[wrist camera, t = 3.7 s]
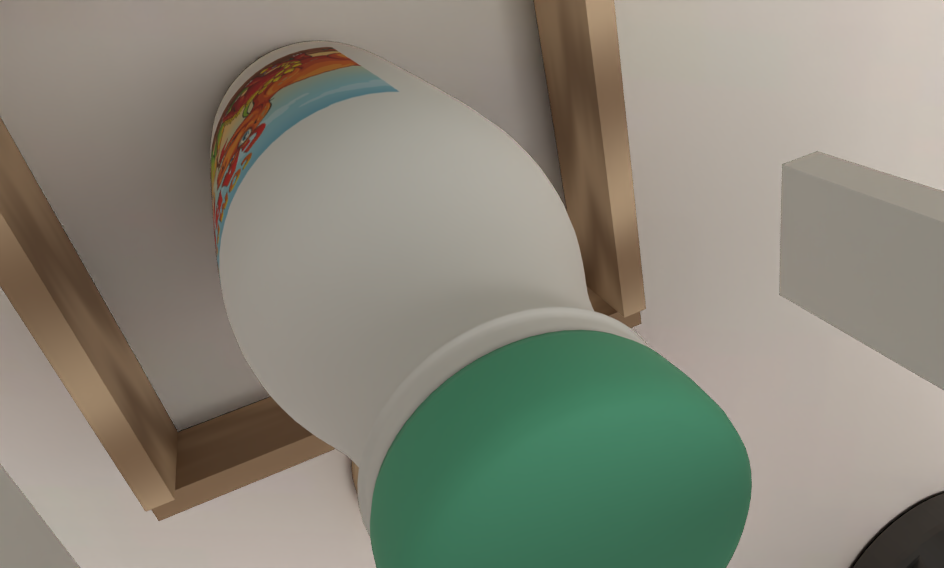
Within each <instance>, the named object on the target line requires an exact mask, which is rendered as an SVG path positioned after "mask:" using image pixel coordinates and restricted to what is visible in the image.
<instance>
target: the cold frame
mask: <svg viewBox="0 0 944 568" xmlns="http://www.w3.org/2000/svg"><path fill="white" fill-rule="evenodd" d="M534 5H535V12H536V18H537V25H538V31H539V37H540V44H541V50H542V56H543V63H544V69H545V75H546V82H547V88H548V94H549V101H550V107H551V113H552V120H553V126H554V132H555V139H556V145H557V151H558V158H559V164H560V170H561V177H562V183H563V189H564V196H565V202H566V208H567V214H568V216H569V218H570V221H571V223H572V226H573V228H574V231H575V233H576V237H577V240H578V244H579V248H580V252H581V257H582V261H583V267H584V273H585V280H586V287H587V292H588V296H589V300H590V302H591V305H592V308H593V310H594V311H595V312H598V313H602V314H605V315H607V316H609V317H612V318H614V319H616V320H618V321H620V322H621V323H623V324H625V325H626V326H628V327H629V328H632V327H634V326H637V325H639V324H641V317H640V311H642V310H644V309H646V306H645V296H644V286H643V277H642V267H641V257H640V248H639V238H638V228H637V218H636V209H635V199H634V189H633V180H632V170H631V160H630V151H629V141H628V131H627V122H626V112H625V102H624V93H623V83H622V73H621V64H620V54H619V44H618V35H617V25H616V15H615V6H614V0H534ZM0 286H1V288H2V289H3V291H4V293H5V294H6V296H7V297H8V299H9V300H10V302H11V303H12V305H13V307H14V308H15V310H16V311H17V313H18V314H19V316H20V317H21V319H22V321H23V322H24V324H25V325H26V327H27V328H28V330H29V331H30V333H31V334H32V336H33V338H34V339H35V341H36V342H37V344H38V345H39V347H40V348H41V350H42V352H43V353H44V355H45V356H46V358H47V359H48V361H49V362H50V364H51V366H52V367H53V369H54V370H55V372H56V373H57V375H58V376H59V378H60V380H61V381H62V383H63V384H64V386H65V387H66V389H67V390H68V392H69V393H70V395H71V397H72V398H73V400H74V401H75V403H76V404H77V406H78V407H79V409H80V411H81V412H82V414H83V415H84V417H85V418H86V420H87V421H88V423H89V425H90V426H91V428H92V429H93V431H94V432H95V434H96V435H97V437H98V439H99V440H100V442H101V443H102V445H103V446H104V448H105V449H106V451H107V452H108V454H109V456H110V457H111V459H112V460H113V462H114V463H115V465H116V466H117V468H118V470H119V471H120V473H121V474H122V476H123V477H124V479H125V480H126V482H127V484H128V485H129V487H130V488H131V490H132V491H133V493H134V494H135V496H136V498H137V499H138V501H139V502H140V504H141V505H142V507H143V508H144V510H145V511H148V510H152V511H153V513H154V514H155V516H156V517H157V519H158V521H160V520H163V519H165V518H168V517H170V516H173V515H175V514H177V513H180V512H182V511H185V510H187V509H190V508H192V507H195V506H197V505H199V504H202V503H204V502H207V501H209V500H212V499H214V498H217V497H219V496H221V495H224V494H226V493H229V492H231V491H234V490H236V489H239V488H241V487H243V486H246V485H248V484H251V483H253V482H256V481H258V480H260V479H263V478H265V477H268V476H270V475H273V474H275V473H278V472H280V471H282V470H285V469H287V468H290V467H292V466H295V465H297V464H300V463H302V462H304V461H307V460H309V459H312V458H314V457H317V456H319V455H322V454H324V453H326V452H329V451H331V450H334V449H335V448H334V447H332V446H331V445H329V444H327V443H326V442H324V441H322V440H321V439H319V438H318V437H316V436H315V435H313V434H312V433H311V432H309V431H308V430H306V429H305V428H304V427H302V426H301V425H300V424H299V423H297V422H296V421H295V420H294V419H293V418H292V417H290V416H289V415H288V414H287V413H286V412H285V411H284V410H283V409H282V408H281V407H280V406H279V405H278V404H277V403H276V402H275V400H274V399H273V398H272V397H268V398H266V399H263V400H261V401H258V402H256V403H253V404H250V405H248V406H245V407H243V408H240V409H237V410H235V411H232V412H230V413H227V414H224V415H222V416H219V417H217V418H214V419H211V420H209V421H206V422H204V423H201V424H198V425H196V426H193V427H191V428H188V429H185V430H183V431H180V432H177V430H176V428H175V426H174V425H173V423H172V421H171V419H170V417H169V416H168V414H167V412H166V410H165V409H164V407H163V405H162V403H161V402H160V400H159V398H158V396H157V394H156V393H155V391H154V389H153V387H152V386H151V384H150V382H149V380H148V379H147V377H146V375H145V373H144V371H143V370H142V368H141V366H140V364H139V363H138V361H137V359H136V357H135V355H134V354H133V352H132V350H131V348H130V347H129V345H128V343H127V341H126V340H125V338H124V336H123V334H122V332H121V331H120V329H119V327H118V325H117V324H116V322H115V320H114V318H113V316H112V315H111V313H110V311H109V309H108V308H107V306H106V304H105V302H104V301H103V299H102V297H101V295H100V293H99V292H98V290H97V288H96V286H95V285H94V283H93V281H92V279H91V277H90V276H89V274H88V272H87V270H86V269H85V267H84V265H83V263H82V262H81V260H80V258H79V256H78V254H77V253H76V251H75V249H74V247H73V246H72V244H71V242H70V240H69V238H68V237H67V235H66V233H65V231H64V230H63V228H62V226H61V224H60V223H59V221H58V219H57V217H56V215H55V214H54V212H53V210H52V208H51V207H50V205H49V203H48V201H47V199H46V198H45V196H44V194H43V192H42V191H41V189H40V187H39V185H38V184H37V182H36V180H35V178H34V176H33V175H32V173H31V171H30V169H29V168H28V166H27V164H26V162H25V161H24V159H23V157H22V155H21V153H20V152H19V150H18V148H17V146H16V145H15V143H14V141H13V139H12V137H11V136H10V134H9V132H8V130H7V129H6V127H5V125H4V123H3V122H2V120H1V118H0Z"/></svg>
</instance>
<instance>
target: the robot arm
mask: <svg viewBox="0 0 944 568" xmlns="http://www.w3.org/2000/svg"><path fill="white" fill-rule="evenodd" d="M779 295H781V296H783V297H784V298H786V299H788V300H790V301H791V302H793V303H795V304H796V305H798V306H800V307H802V308H803V309H805V310H807V311H808V312H810V313H812V314H814V315H815V316H817V317H819V318H820V319H822V320H824V321H826V322H827V323H829V324H831V325H832V326H834V327H836V328H838V329H839V330H841V331H843V332H844V333H846V334H848V335H850V336H851V337H853V338H855V339H857V340H858V341H860V342H862V343H863V344H865V345H867V346H869V347H870V348H872V349H874V350H875V351H877V352H879V353H881V354H882V355H884V356H886V357H887V358H889V359H891V360H893V361H894V362H896V363H898V364H899V365H901V366H903V367H905V368H906V369H908V370H910V371H911V372H913V373H915V374H917V375H918V376H920V377H922V378H924V379H925V380H927V381H929V382H930V383H932V384H934V385H936V386H937V387H939V388H941V389H942V390H944V191H941V190H937V189H934V188H931V187H928V186H925V185H922V184H919V183H915V182H912V181H909V180H906V179H903V178H900V177H896V176H893V175H890V174H887V173H884V172H881V171H878V170H874V169H871V168H868V167H865V166H862V165H859V164H856V163H852V162H849V161H846V160H843V159H840V158H837V157H833V156H830V155H827V154H824V153H821V152H818V151H816V152H814V153H811V154H808V155H806V156H803V157H800V158H798V159H795V160H792V161H790V162H787V163H785V164H782V189H781V236H780V284H779ZM0 568H80V567H79V565H78V564H77V563H76V562H75V560H74V559H73V558H72V556H71V555H70V554H69V552H68V551H67V550H66V549H65V547H64V546H63V545H62V543H61V542H60V541H59V539H58V538H57V537H56V536H55V534H54V533H53V532H52V530H51V529H50V528H49V526H48V525H47V524H46V523H45V521H44V520H43V519H42V517H41V516H40V515H39V513H38V512H37V511H36V510H35V508H34V507H33V506H32V504H31V503H30V502H29V500H28V499H27V498H26V497H25V495H24V494H23V493H22V491H21V490H20V489H19V487H18V486H17V485H16V484H15V482H14V481H13V480H12V478H11V477H10V476H9V474H8V473H7V472H6V471H5V469H4V468H3V467H2V465H1V464H0ZM853 568H944V494H941V495H938V496H935V497H933V498H931V499H929V500H927V501H925V502H923V503H921V504H919V505H918V506H916V507H914V508H913V509H911V510H910V511H908V512H907V513H905V514H904V515H903V516H901V517H900V518H899V519H897V520H896V521H895V522H894V523H892V524H891V525H890V526H889V527H888V528H887V529H886V530H885V531H883V532H882V533H881V534H880V535H879V536H878V537H877V538H876V539H875V541H874V542H873V543H872V544H871V545H870V546H869V547H868V548H867V549H866V551H865V552H864V553H863V554H862V556H861V557H860V558H859V560H858V561H857V562H856V564H855V565H854V567H853Z"/></svg>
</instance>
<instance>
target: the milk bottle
mask: <svg viewBox="0 0 944 568" xmlns="http://www.w3.org/2000/svg"><path fill="white" fill-rule="evenodd" d="M210 170H211V191H212V210H213V223H214V235H215V248H216V257H217V266H218V272H219V278H220V283H221V289H222V295H223V300H224V304H225V309H226V313H227V316H228V319H229V322H230V324H231V327H232V330H233V332H234V335H235V338H236V340H237V343H238V345H239V347H240V349H241V351H242V353H243V356H244V358H245V360H246V361H247V363H248V365H249V366H250V368H251V369H252V371H253V372H254V374H255V375H256V377H257V378H258V380H259V381H260V383H261V384H262V386H263V387H264V389H265V390H266V391H267V392H268V393H269V395H270V396H271V397H272V398H273V399H274V400H275V402H276V403H277V404H278V405H279V406H280V407H281V408H282V409H283V410H284V411H285V412H286V413H287V414H288V415H289V416H290V417H292V418H293V419H294V420H295V421H296V422H297V423H299V424H300V425H301V426H302V427H304V428H305V429H306V430H308V431H309V432H311V433H312V434H313V435H315V436H316V437H318V438H319V439H321V440H322V441H324V442H326V443H327V444H329V445H331V446H332V447H334V448H335V449H337V450H339V451H340V452H342V453H343V454H345V455H346V456H347V457H349V458H350V459H351V460H352V461H353V462H354V463H355V464H356V465H357V466H358V467H359V472H358V483H357V487H358V502H359V508H360V513H361V516H362V519H363V523H364V525H365V527H366V530H367V532H368V534H369V536H370V538H371V545H372V551H373V555H374V559H375V563H376V568H726V567H727V565H728V563H729V561H730V560H731V558H732V556H733V554H734V552H735V549H736V547H737V545H738V543H739V540H740V537H741V535H742V532H743V529H744V525H745V522H746V518H747V514H748V510H749V505H750V499H751V487H752V481H751V468H750V462H749V458H748V455H747V452H746V448H745V446H744V444H743V442H742V440H741V438H740V436H739V434H738V433H737V431H736V430H735V428H734V426H733V425H732V423H731V421H730V420H729V418H728V417H727V415H726V414H725V413H724V411H723V410H722V409H721V408H720V407H719V406H718V405H717V404H716V403H715V402H714V401H713V400H712V399H711V398H710V397H709V396H708V395H707V394H706V393H705V392H704V391H703V390H702V389H701V388H700V387H699V386H698V385H697V384H696V383H695V382H694V381H693V380H692V379H690V378H689V377H688V376H687V375H685V374H684V373H683V372H682V371H680V370H679V369H678V368H677V367H675V366H674V365H673V364H671V363H670V362H669V361H667V360H666V359H665V358H663V357H662V356H661V355H660V354H658V353H657V352H655V351H654V350H652V349H650V348H649V346H648V345H647V344H646V343H645V342H644V340H643V339H642V338H641V337H640V336H639V335H638V334H637V333H635V332H634V331H633V330H632V329H630V328H629V327H628V326H626V325H625V324H623V323H621V322H620V321H618V320H616V319H614V318H612V317H609V316H607V315H605V314H602V313H598V312H595V311H594V310H593V308H592V305H591V302H590V300H589V296H588V292H587V287H586V280H585V273H584V267H583V261H582V257H581V252H580V248H579V244H578V240H577V237H576V233H575V231H574V228H573V226H572V223H571V221H570V218H569V216H568V214H567V211H566V209H565V206H564V204H563V203H562V201H561V199H560V197H559V195H558V193H557V192H556V190H555V189H554V187H553V185H552V184H551V182H550V181H549V179H548V178H547V176H546V175H545V174H544V172H543V171H542V169H541V168H540V167H539V165H538V164H537V163H536V162H535V161H534V160H533V159H532V157H531V156H530V155H529V154H528V153H527V152H526V151H525V150H524V149H523V148H522V147H521V146H520V145H519V144H518V143H517V142H516V141H515V140H514V139H513V138H512V137H511V136H510V135H508V134H507V133H506V132H505V131H504V130H502V129H501V128H500V127H498V126H497V125H495V124H494V123H493V122H491V121H490V120H488V119H487V118H485V117H484V116H482V115H481V114H480V113H478V112H477V111H475V110H474V109H472V108H471V107H469V106H468V105H466V104H465V103H463V102H461V101H459V100H458V99H456V98H454V97H452V96H451V95H449V94H447V93H445V92H444V91H442V90H440V89H438V88H437V87H435V86H433V85H431V84H430V83H428V82H426V81H424V80H422V79H421V78H419V77H417V76H415V75H413V74H411V73H410V72H408V71H406V70H404V69H402V68H400V67H398V66H396V65H395V64H393V63H391V62H389V61H387V60H385V59H383V58H381V57H379V56H377V55H375V54H373V53H371V52H368V51H366V50H363V49H360V48H357V47H354V46H351V45H348V44H343V43H339V42H331V41H308V42H301V43H296V44H291V45H288V46H285V47H281V48H279V49H277V50H274V51H272V52H270V53H268V54H266V55H265V56H263V57H261V58H259V59H258V60H257V61H255V62H254V63H252V64H251V65H250V66H249V67H248V68H246V69H245V70H244V71H243V72H242V73H241V74H240V75H239V76H238V77H237V78H236V80H235V81H234V82H233V83H232V85H231V86H230V88H229V89H228V90H227V92H226V94H225V96H224V97H223V99H222V101H221V103H220V106H219V108H218V110H217V113H216V116H215V119H214V124H213V128H212V135H211V145H210Z"/></svg>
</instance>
